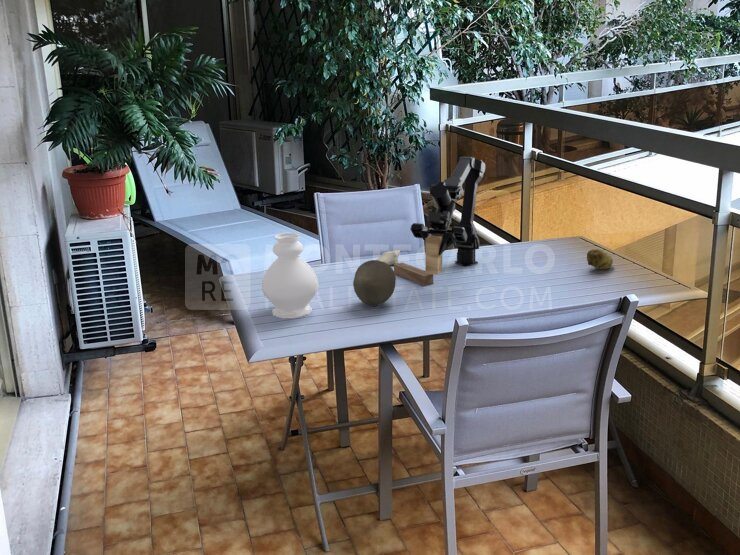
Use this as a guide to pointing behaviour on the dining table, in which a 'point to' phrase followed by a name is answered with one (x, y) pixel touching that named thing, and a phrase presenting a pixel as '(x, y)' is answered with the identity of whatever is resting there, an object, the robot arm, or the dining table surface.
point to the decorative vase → (289, 279)
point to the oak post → (433, 254)
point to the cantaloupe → (374, 282)
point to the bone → (390, 257)
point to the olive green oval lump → (599, 259)
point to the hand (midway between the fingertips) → (432, 254)
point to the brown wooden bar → (413, 274)
